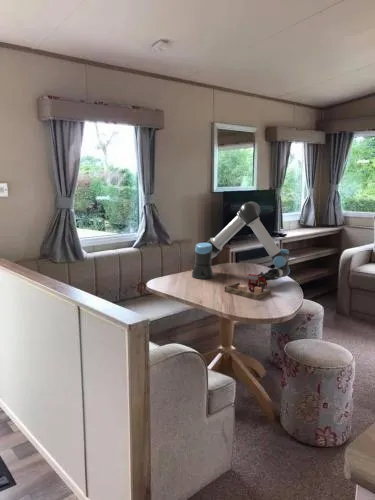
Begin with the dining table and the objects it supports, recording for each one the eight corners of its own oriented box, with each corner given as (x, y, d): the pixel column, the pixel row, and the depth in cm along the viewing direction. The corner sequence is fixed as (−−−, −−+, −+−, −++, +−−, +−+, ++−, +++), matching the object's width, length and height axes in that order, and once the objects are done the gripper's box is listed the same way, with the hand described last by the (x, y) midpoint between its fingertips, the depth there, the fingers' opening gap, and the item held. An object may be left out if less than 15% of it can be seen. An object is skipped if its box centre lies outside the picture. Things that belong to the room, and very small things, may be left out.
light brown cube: (237, 285, 257) (242, 284, 260) (237, 291, 258) (242, 290, 260) (242, 287, 254) (247, 286, 256) (242, 293, 255) (246, 292, 257)
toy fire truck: (265, 293, 256) (266, 278, 252) (246, 291, 260) (246, 276, 256) (267, 288, 262) (268, 273, 258) (248, 286, 266) (248, 271, 262)
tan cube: (254, 294, 254) (254, 287, 253) (255, 292, 257) (255, 286, 256) (260, 295, 252) (260, 288, 251) (261, 293, 256) (262, 287, 255)
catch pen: (224, 291, 258) (224, 286, 257) (238, 286, 269) (238, 282, 268) (257, 300, 242) (257, 295, 242) (270, 295, 253) (271, 290, 253)
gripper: (266, 266, 282) (247, 272, 264) (283, 270, 273) (265, 275, 256) (266, 277, 283) (247, 283, 266) (283, 281, 275) (264, 287, 257)
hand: (256, 279), depth 261 cm, fingers closed
